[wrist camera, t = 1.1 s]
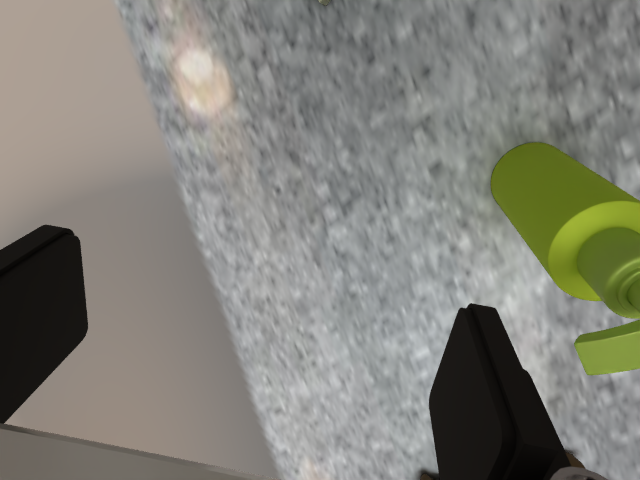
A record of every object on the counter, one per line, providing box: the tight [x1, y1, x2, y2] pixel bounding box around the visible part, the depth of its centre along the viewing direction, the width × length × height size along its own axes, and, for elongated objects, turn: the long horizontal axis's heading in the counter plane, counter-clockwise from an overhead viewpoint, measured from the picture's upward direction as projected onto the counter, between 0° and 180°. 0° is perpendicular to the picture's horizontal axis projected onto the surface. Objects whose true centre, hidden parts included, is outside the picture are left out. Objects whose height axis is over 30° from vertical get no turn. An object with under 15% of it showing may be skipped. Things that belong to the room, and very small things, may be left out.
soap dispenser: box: [491, 142, 640, 375], centre depth 26 cm, size 6×7×20 cm
